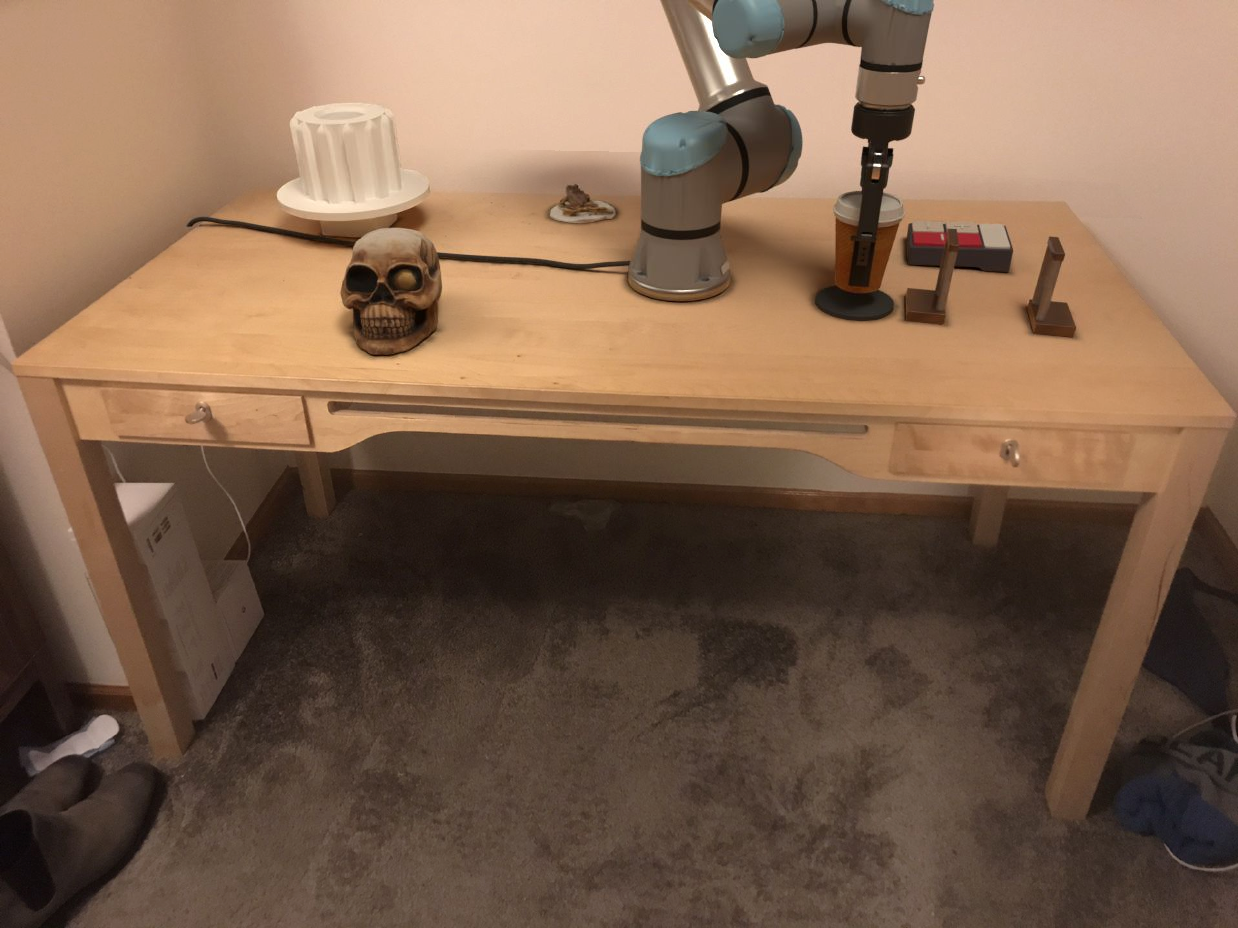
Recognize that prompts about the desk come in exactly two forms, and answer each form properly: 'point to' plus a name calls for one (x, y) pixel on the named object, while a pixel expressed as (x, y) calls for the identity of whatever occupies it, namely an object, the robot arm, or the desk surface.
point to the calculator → (960, 244)
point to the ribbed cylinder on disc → (349, 170)
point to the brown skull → (392, 290)
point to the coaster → (854, 303)
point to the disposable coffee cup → (886, 232)
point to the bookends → (1040, 309)
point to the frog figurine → (581, 208)
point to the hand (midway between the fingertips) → (859, 272)
